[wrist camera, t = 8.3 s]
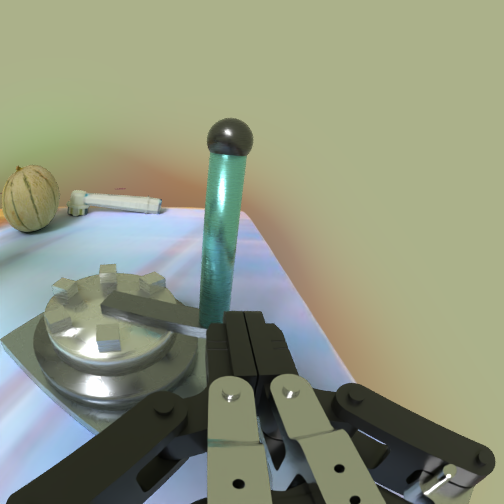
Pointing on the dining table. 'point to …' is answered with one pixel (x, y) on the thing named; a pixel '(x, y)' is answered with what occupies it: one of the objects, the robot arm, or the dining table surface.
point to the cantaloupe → (30, 198)
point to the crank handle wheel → (155, 283)
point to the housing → (100, 387)
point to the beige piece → (111, 203)
